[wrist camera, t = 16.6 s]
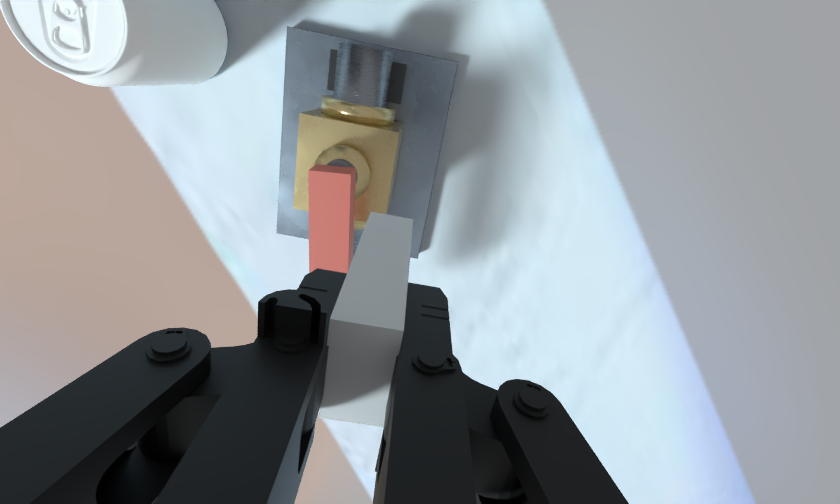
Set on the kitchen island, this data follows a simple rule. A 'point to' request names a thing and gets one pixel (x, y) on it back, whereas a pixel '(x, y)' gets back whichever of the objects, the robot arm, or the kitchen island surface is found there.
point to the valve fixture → (361, 126)
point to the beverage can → (122, 39)
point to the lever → (331, 215)
